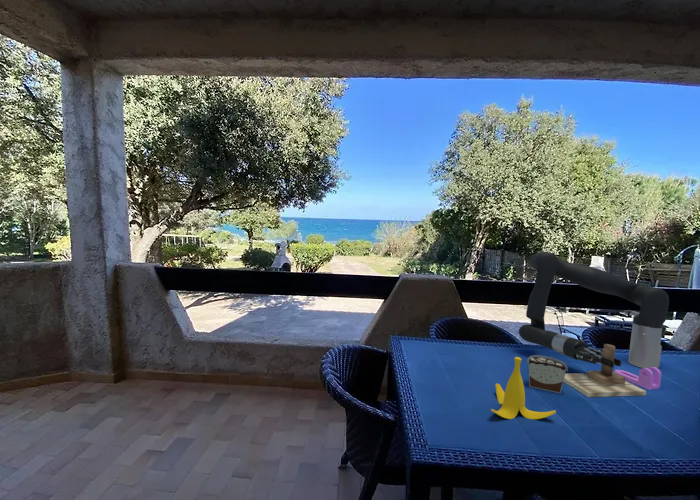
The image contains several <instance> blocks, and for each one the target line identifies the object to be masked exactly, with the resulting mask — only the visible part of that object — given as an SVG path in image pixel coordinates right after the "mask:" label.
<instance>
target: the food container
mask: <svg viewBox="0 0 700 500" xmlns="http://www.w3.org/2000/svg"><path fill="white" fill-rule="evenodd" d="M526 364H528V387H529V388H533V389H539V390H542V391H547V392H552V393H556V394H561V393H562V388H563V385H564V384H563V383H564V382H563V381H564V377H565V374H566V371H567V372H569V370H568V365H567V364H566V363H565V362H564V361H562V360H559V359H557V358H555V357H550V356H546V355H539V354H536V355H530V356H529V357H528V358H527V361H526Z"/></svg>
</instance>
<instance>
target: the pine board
mask: <svg viewBox="0 0 700 500" xmlns="http://www.w3.org/2000/svg"><path fill="white" fill-rule="evenodd" d="M587 377H588V372H580V373H579V372H577V373H576V372H575V373H574V372H573V373H565V377H564V381H563V383H565V384H566V385H568V386H569V387H571V388H572V389H575V390H576V391H578V392H579V393H581V394H582V395H584V396H585V397H587V398H607V397H631V396H632V397H635V396H636V397H637V396H646V395H647V390H646V389H643V388H641V387H640V386H638V385H636V384H634V383H632V382H629V381H627V380H625V386H601V385H599V384H597V383H595V382H593V381H592V380H590V379H588V378H587Z"/></svg>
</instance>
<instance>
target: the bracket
mask: <svg viewBox="0 0 700 500" xmlns="http://www.w3.org/2000/svg"><path fill="white" fill-rule="evenodd" d="M614 372H615V373H617V374H619V375H621V376H623V377H625V381H627V382H629V383H631V384H633V385H636V386H638V387H640V388H641V387H642V388H644V389H645V390H649V391H650V390H651V391H652V390H656V389H657V390H658V389H661V381H662V371H661V370H660V369H659V368H656V367H650V368H640V369H639V370H638V375H636V374H634V373H631V372H629V371H627V370H622V369H614Z"/></svg>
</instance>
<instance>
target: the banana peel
mask: <svg viewBox="0 0 700 500" xmlns="http://www.w3.org/2000/svg"><path fill="white" fill-rule="evenodd" d="M513 359H514V360H513V361H514V367H513V371H512V373H511V375H510V377H509V379H508V380H507V384H506V387H505V390H504V389H503V387H502V386H501V384H500V383H495V393H496V399H497V402H498V404H499V405H501V407H500V408H499V409H498V410H495V409H493V408H491V409H490V411H491V412H493V414H496V415H497V416H499V417H501V418H504V419H507V420H513V419H515V418H516V417H517V416H518V413H519V412H520V414H521V415H522V417H524V418H525V419H528V420H540V419H545V418H548V417H550V416H553V415H554V414H556V412H557V411H556V410H550V411H533V410H530V409H528V408H527V407H526V392H525V386H524V381H523V378H522V377H523V376H522V374H521V363H522V358H521V357H519V356H515V357H513Z"/></svg>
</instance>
